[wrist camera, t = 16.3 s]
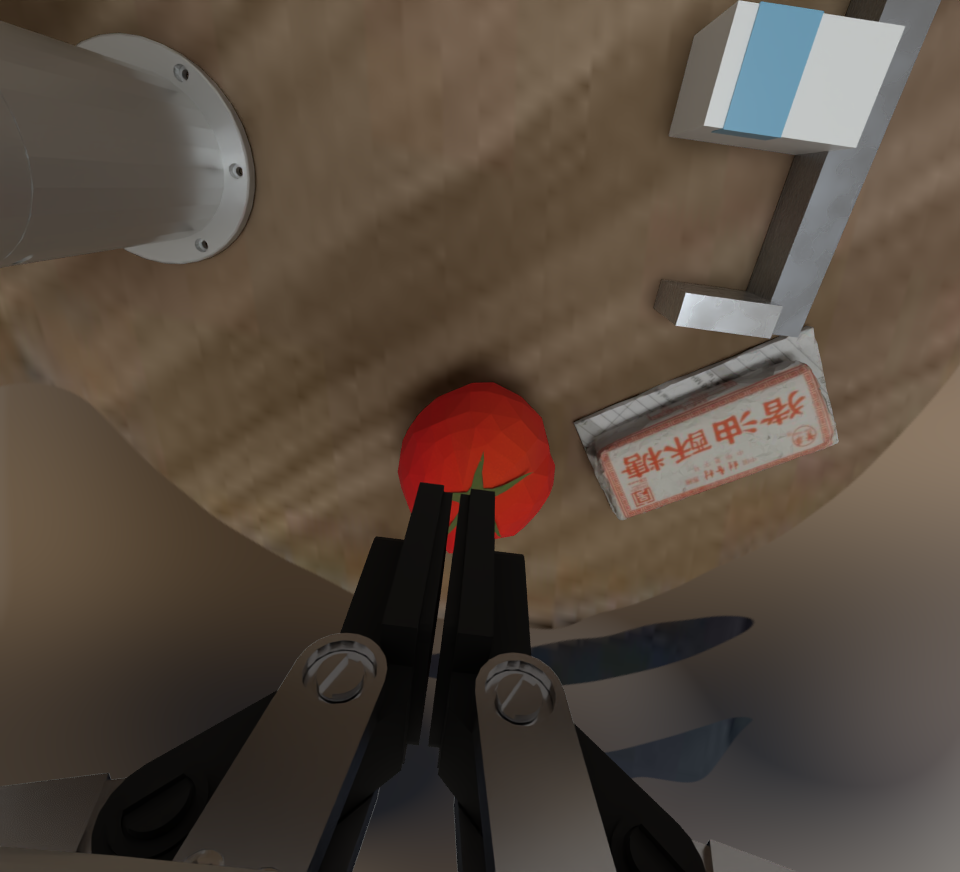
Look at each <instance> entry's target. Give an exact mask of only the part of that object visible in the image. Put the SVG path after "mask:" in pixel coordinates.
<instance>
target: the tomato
mask: <svg viewBox="0 0 960 872" xmlns="http://www.w3.org/2000/svg"><path fill="white" fill-rule="evenodd" d="M554 472H555V464H554V462H553V459H552V457H551V454H550V450H549V444H548V440H547V436H546V433H545V429H544V425H543V421H542V418H541V417H540V416H539V415H538V414H537V413H536V411H535V410H534V409H533V408H532V407H531V406H530V405H529V404H528V403H527V402H526V401H525V400H524V399H523V398H522V397H521V396H519V395H517V394H515V393H513V392H511V391H510V390H508V389H506V388H504V387H502V386H500V385H498V384H496V383H494V382H483V383H471V384H468V385H466V386H463V387H461V388H458V389H456V390H453V391H451V392H448V393H446V394H444V395H441V396H439V397H437V398H436V399H435V400H434V401H432V402H431V403H430V404H429V405H428V406H427V407H425V408H424V409H423V410H422V411H421V412H420V414H419V415H418V416H417V417H416V419H415V420H414V422H413V423H412V424H411V426H410V427H409V429H408V431H407V433H406V435H405V437H404V439H403V442H402V448H401V454H400V461H399V467H398V475H399V479H400V484H401V488H402V491H403V493H404V496H405V499H406V501H407V504H408V506H409V509H410V512H411V513H412V509H413V506H414V502H415V498H416V495H417V491H418V487H419V484H420V482H424V483H432V484H440V485H444V492H451V493H453V497H452V505H451V513H450V522H449V530H448V538H447V546H446V551H447V552H448V553H453V549H454V541H455V534H456V526H457V518H458V511H459V503H460V496H461V494H467V495H470V492H471V489H479V490H487V491H495V539H497V538H503V537H509V536H514V535H515V534H517V533H518V532H519V531H520V530H521V529H522V528H524V527H525V526H526V525H527V524H528V523H529V521H530V520H531V519H532V518H533V517H534V516H535V515H536V514H537V513H538V511H539V510H540V509H541V507H542V506H543V504H544V503H545V501H546V500H547V498H548V496H549V494H550V492H551V489H552V486H553V481H554Z"/></svg>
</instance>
